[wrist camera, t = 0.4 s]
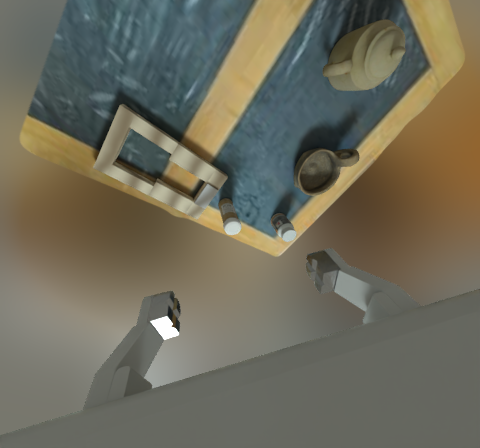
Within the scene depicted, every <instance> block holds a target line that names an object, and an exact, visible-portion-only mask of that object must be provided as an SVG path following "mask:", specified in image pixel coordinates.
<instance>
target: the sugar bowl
mask: <svg viewBox="0 0 480 448" xmlns="http://www.w3.org/2000/svg"><path fill="white" fill-rule="evenodd" d="M404 47H405V35H404V33H403V31H402V29H401V28H400V27H398V26H396V24H395V23H394V22H392V21H390V20H380V21H376V22H374V23H371V24H368V25H366V26H363V27H361V28H359V29H356V30H354V31H352V32H350V33H347V34H346V35H344V36H343V37H342V38H341V39H340V40H339V41H338V42H337V43H336V45H335V46H334V48H333V50H332V52H331V54H330V57H329V61H328V64H327V65H325V66H324V68H323V76H325V77H328V79H329V82H330V84H331V85H332V86H333V87H334V88H335V89H337V90H342V91H357V90H369V89H372V88H374V87H376V86H378V85H379V84H380V83H381V82H383V81H384V80H385V79H386V78H387V77H389V76H390V75H391V74H392V73H393V71H394V70H395V69H396V68H397V66H398V64H399V62H400V60H401V59H402V56H403V54H404V53H405V48H404Z"/></svg>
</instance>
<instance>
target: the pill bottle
mask: <svg viewBox="0 0 480 448" xmlns="http://www.w3.org/2000/svg"><path fill="white" fill-rule="evenodd" d="M271 224H272V226H273V228H274V229H275V231H276V232H277V234H278V235H279V236H280V237H281V238H282V239H283V240H284V241H286V242H289V241H292V240H293V239H294V238H295V237H296V231H295V230H294V227H293V225H292V224H291V222H290V221H289V220H288V219H287V217H286V216H285V215H284V214H282V213H277V214H275V215H274V216H273V217H272V218H271Z"/></svg>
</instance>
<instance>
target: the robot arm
mask: <svg viewBox="0 0 480 448" xmlns="http://www.w3.org/2000/svg"><path fill="white" fill-rule="evenodd" d="M306 259H307V261H308V262H307V263H306V271H307V274H308V276H309V277H310V278H311V279H312V280H313V281H315V287H316V288H317V290H318V291H319V293H320V294H323V293H327V292H331V291H334V292H336V293H337V294H339V295H341V296H342V297H344V298H346V299H347V300H348V301H350V302H351V303H353V304H355V305H356V306H358V307H360V308H361V309H362V310H364V311H365V312H366V313H365V315H364V318H363V323H364V324H363V325H360V326H356V327H353V328H350V329H346V330H343V331H340V332H337V333H333V334H330V335H327V336H324V337H320V338H317V339H314V340H310V341H307V342H304V343H301V344H297V345H294V346H291V347H287V348H284V349H281V350H278V351H275V352H271V353H268V354H265V355H261V356H258V357H255V358H251V359H248V360H245V361H242V362H239V363H235V364H232V365H228V366H225V367H222V368H219V369H216V370H212V371H209V372H206V373H202V374H199V375H196V376H193V377H190V378H186V379H183V380H179V381H176V382H173V383H170V384H166V385H163V386H160V387H157V388H153V389H152V385H151V383H150V382H148V381H147V380H146V379H144V376H145V374H146V373H147V371H148V369H149V367H150V365H151V363H152V361H153V359H154V358H155V356H156V354H157V352H158V350H159V349H160V347H161V345H162V343H163V341H164V339H166V338H169V337H172V336H175V335H179V329H180V322H179V320H178V318H179V316H180V312H181V310H180V304H179V301H178V299H177V298H174V297H175V294H174V292H173V291H169V292H164V293H160V294H156V295H152V296H148V297H145V298H144V299H143V301H142V305H141V309H140V314H139V317H138V322H137V325H136V326H134V327H133V328H132V329H131V330H130V332H129V333H128V334H127V336H126V337H125V338H124V339H123V341H122V342H121V343H120V344H119V345H118V347H117V348H116V349H115V350H114V352H113V353H112V354H111V355H110V357H109V358H108V359H107V360H106V362H105V363H104V364H103V365H102V366H101V368H100V369H99V370H98V371H97V373H96V374H95V377H94V380H93V382H92V385H91V388H90V391H89V394H88V397H87V400H86V402H85V405H84V407H83V410H81V411H78V412H75V413H72V414H69V415H65V416H62V417H59V418H55V419H52V420H49V421H45V422H42V423H39V424H36V425H33V426H29V427H26V428H22V429H19V430H16V431H13V432H9V433H6V434H3V435H0V448H480V289H477V290H474V291H471V292H468V293H464V294H461V295H458V296H455V297H451V298H448V299H445V300H441V301H438V302H435V303H431V304H429V305H425V306H422V307H421V306H420V305H419V304H418V303H417V302H416V301H415V300H414V299H412V297H411V296H409V295H408V294H407V293H406V292H405V291H404V290H403V289H402V288H400V287H399V286H398V285H396V284H393V283H391V282H388V281H386V280H384V279H381V278H379V277H377V276H374V275H372V274H369V273H367V272H364V271H362V270H360V269H357V268H355V267H350V266H348V264H347V263H346V262H345V261H344V260H343V259H342V258H341V257H340V256H339V255H338V254H337V253H336V252H335V251H334V250H333V249H332V248H330V249H326V250H322V251H318V252H315V253H311V254H308V255H307V258H306Z"/></svg>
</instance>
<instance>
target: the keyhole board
mask: <svg viewBox="0 0 480 448" xmlns="http://www.w3.org/2000/svg"><path fill="white" fill-rule="evenodd" d="M130 129H133V130H135V131H136V132H138V133H139V134H141V135H142V136H144V137H146V138H147V139H149V140H150V141H152V142H153V143H155V144H157V145H158V146H160V147H161V148H163V149H164V150H166V151H168V152H169V153H171V156H170V158H169V160H171V161H172V162H174V163H176V164H177V165H179V166H180V167H182V168H184V169H185V170H187V171H189V172H190V173H192V174H193V175H195V176H197V177H198V178H200V179H201V180H203V181H205V182H204V184H203V185H202V186H201V188H200V189H199V191H198V192H197V194H196V195H195V197H194V198H192V197H190V196H189V195H187V194H185V193H183V192H181V191H179V190H178V189H176V188H174V187H172V186H170V185H169V184H167V183H165V182H163V181H161V180H159V179H158V178H157V180H156V182H155V183H154V182H153V181H151V180H149V179H147V178H145V177H143V176H141V175H139V174H138V173H136V172H134V171H132V170H130V169H128V168H126V167H125V166H123V165H121V164H119V163H117V162H115V161H116V159H117V157H118V155H119V153H120V151H121V149H122V146H123V144H124V142H125V140H126V138H127V136H128V134H129V131H130ZM93 168H95V169H97V170H99V171H101V172H103V173H105V174H107V175H109V176H111V177H113V178H115V179H117V180H119V181H121V182H123V183H125V184H127V185H129V186H131V187H133V188H135V189H137V190H139V191H141V192H143V193H145V194H147V195H149V196H151V197H153V198H155V199H157V200H159V201H161V202H163V203H165V204H167V205H169V206H171V207H173V208H175V209H177V210H179V211H181V212H183V213H185V214H187V215H189V216H191V217H193V218H195V219H198V218H199V216H200V215H201V214H202V212H203V211H204V210H205V208H206V207H207V206H208V204H209V203H210V201H211V200H212V199H213V197H214V196H215V195H216V193H217V192H218V191H219V189H220V188H221V186H222V185H223V184H224V182H225V181H226V180H227V178H228V176H227V174H225V173H224V172H222V171H221V170H219V169H218V168H216V167H215V166H213V165H212V164H211V163H209V162H208V161H206V160H205V159H203V158H202V157H200V156H199V155H197V154H196V153H194V152H193V151H192V150H190V149H189V148H187V147H186V146H184V145H183V144H181V143H180V142H178V141H177V140H175V139H174V138H173V137H171V136H170V135H168V134H167V133H165V132H164V131H162V130H161V129H159V128H158V127H156V126H155V125H153V124H152V123H151V122H149V121H148V120H146V119H145V118H143V117H142V116H140V115H139V114H137V113H136V112H134V111H133V110H132V109H130V108H129V107H127V106H126V105H124V104H121V105H120V106H119V108H118V111H117V113H116V115H115V118H114V120H113V123H112V125H111V127H110V130H109V132H108V134H107V137H106V139H105V141H104V144H103V146H102V148H101V151H100V153H99V155H98V158H97V160H96V163H95V165H94V167H93Z"/></svg>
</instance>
